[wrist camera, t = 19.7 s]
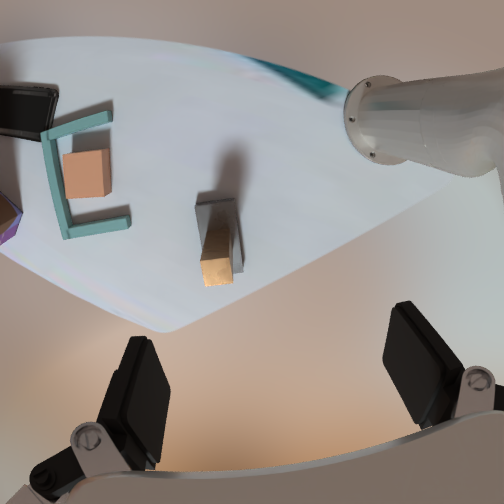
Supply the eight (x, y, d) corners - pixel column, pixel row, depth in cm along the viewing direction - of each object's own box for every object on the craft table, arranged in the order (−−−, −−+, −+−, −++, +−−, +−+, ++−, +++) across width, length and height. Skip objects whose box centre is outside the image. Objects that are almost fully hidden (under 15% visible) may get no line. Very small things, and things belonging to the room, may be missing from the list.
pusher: (196, 203, 39) (184, 230, 30) (233, 198, 39) (234, 223, 30) (208, 271, 43) (202, 314, 34) (243, 266, 43) (246, 309, 34)
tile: (110, 148, 36) (101, 150, 33) (112, 191, 38) (104, 196, 35) (72, 152, 35) (62, 154, 32) (75, 193, 37) (66, 198, 35)
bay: (111, 110, 33) (106, 110, 32) (131, 225, 40) (128, 228, 38) (45, 132, 33) (40, 133, 32) (67, 236, 39) (63, 239, 38)
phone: (45, 143, 33) (-18, 131, 30) (49, 142, 34) (-13, 131, 31) (58, 89, 30) (-8, 84, 27) (62, 89, 31) (-4, 84, 29)
